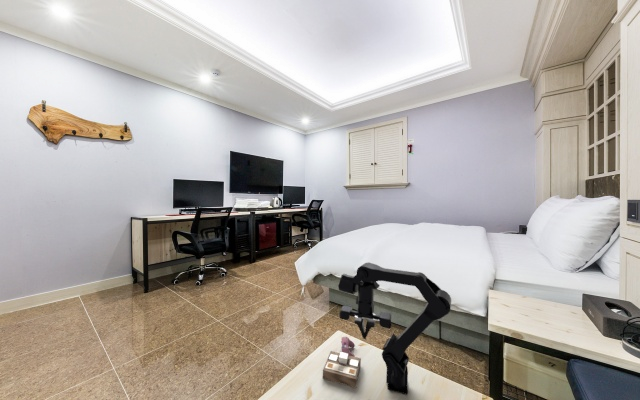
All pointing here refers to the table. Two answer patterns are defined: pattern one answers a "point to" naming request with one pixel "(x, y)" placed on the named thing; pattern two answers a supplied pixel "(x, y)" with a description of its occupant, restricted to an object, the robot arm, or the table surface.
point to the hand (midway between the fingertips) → (364, 338)
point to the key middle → (343, 358)
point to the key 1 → (333, 358)
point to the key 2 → (354, 363)
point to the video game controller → (347, 345)
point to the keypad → (342, 371)
